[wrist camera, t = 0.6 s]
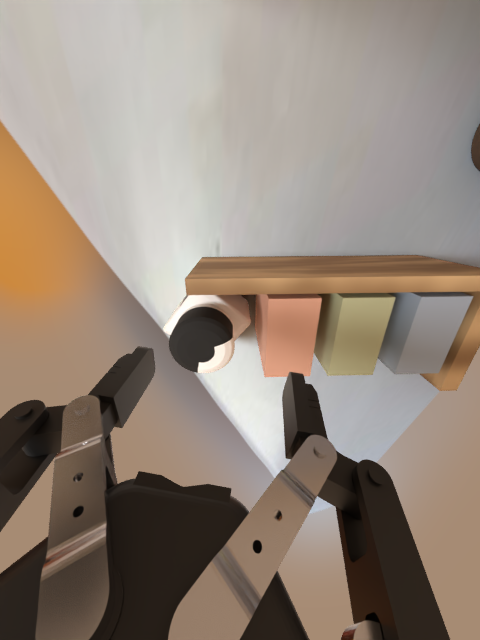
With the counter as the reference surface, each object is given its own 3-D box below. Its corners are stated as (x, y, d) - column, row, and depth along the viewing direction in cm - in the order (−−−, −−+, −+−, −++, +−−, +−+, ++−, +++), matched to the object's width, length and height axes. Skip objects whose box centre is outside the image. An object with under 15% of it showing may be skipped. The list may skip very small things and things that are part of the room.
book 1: (256, 271, 32) (268, 299, 21) (291, 270, 32) (322, 298, 21) (255, 327, 35) (264, 376, 24) (286, 327, 35) (309, 375, 25)
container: (176, 307, 34) (145, 355, 22) (207, 267, 31) (191, 297, 19) (217, 335, 36) (208, 394, 24) (248, 300, 33) (257, 346, 22)
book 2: (305, 270, 32) (343, 298, 21) (340, 270, 32) (395, 297, 21) (298, 327, 35) (327, 375, 25) (329, 326, 36) (372, 374, 25)
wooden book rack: (202, 257, 31) (184, 279, 20) (417, 255, 31) (515, 275, 20) (208, 342, 36) (197, 396, 25) (390, 339, 37) (456, 390, 26)
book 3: (357, 270, 32) (421, 297, 21) (391, 269, 32) (473, 296, 21) (345, 326, 36) (394, 374, 25) (376, 325, 36) (438, 373, 25)
